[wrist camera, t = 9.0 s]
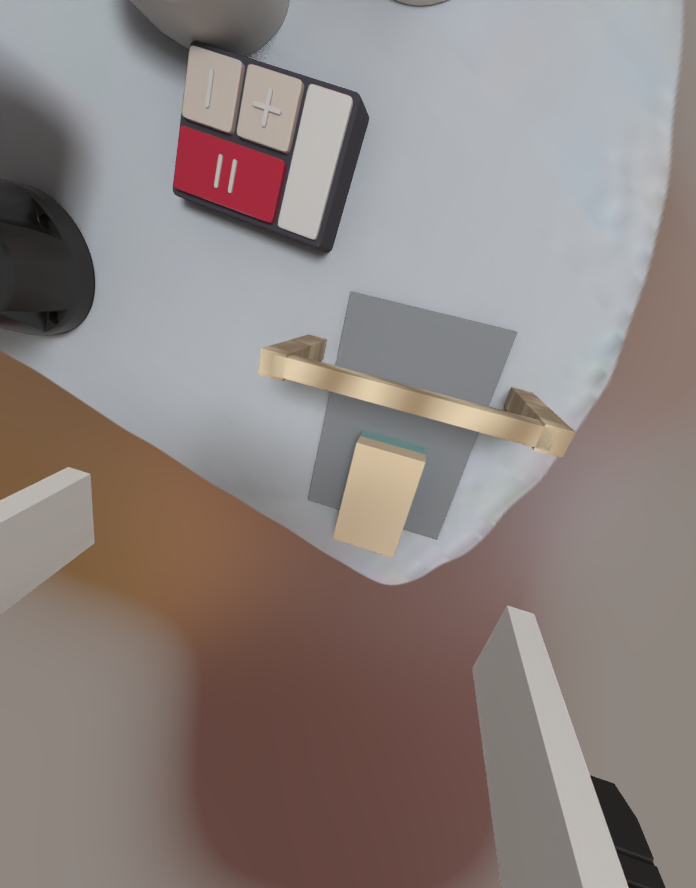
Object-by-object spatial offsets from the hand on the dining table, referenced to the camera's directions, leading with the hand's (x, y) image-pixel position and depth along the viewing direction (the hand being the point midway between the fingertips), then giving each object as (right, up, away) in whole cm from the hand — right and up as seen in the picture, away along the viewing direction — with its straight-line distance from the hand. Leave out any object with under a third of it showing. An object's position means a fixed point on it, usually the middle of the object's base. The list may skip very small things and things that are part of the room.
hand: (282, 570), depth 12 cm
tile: (+5, -2, +28) cm, 28 cm away
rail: (+9, +11, +26) cm, 30 cm away
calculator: (-5, +30, +23) cm, 38 cm away
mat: (+7, +6, +29) cm, 30 cm away
